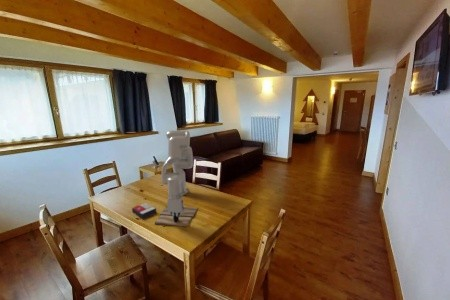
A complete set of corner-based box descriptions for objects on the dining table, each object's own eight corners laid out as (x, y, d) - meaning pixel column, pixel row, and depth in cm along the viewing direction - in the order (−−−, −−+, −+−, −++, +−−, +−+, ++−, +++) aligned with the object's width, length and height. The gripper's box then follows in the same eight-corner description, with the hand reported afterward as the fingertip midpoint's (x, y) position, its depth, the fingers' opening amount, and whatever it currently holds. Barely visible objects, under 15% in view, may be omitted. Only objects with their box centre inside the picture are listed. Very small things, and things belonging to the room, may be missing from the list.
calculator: (145, 202, 162) (156, 207, 152) (146, 207, 163) (156, 213, 153) (131, 207, 154) (141, 213, 144) (132, 213, 155) (142, 219, 145)
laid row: (166, 207, 161) (166, 205, 161) (197, 209, 158) (197, 207, 158) (159, 215, 149) (159, 214, 149) (192, 218, 146) (192, 216, 146)
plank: (160, 216, 148) (160, 214, 148) (191, 218, 145) (191, 217, 145) (154, 223, 139) (154, 222, 139) (187, 226, 136) (187, 224, 136)
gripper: (187, 193, 139) (188, 218, 143) (165, 192, 141) (167, 217, 145) (183, 198, 131) (185, 225, 136) (161, 197, 133) (163, 223, 138)
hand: (176, 220), depth 140 cm, fingers closed
